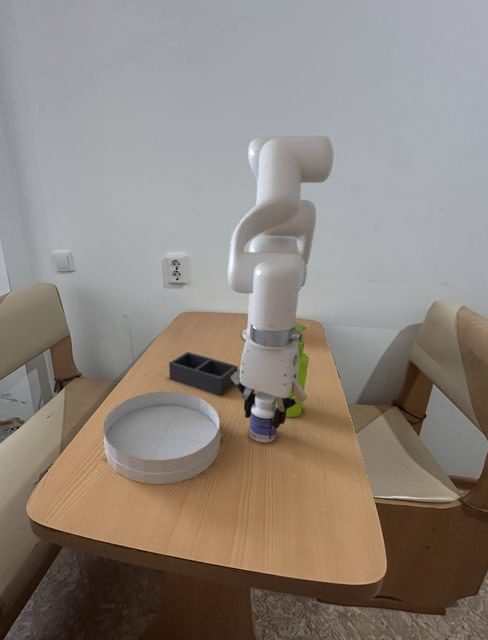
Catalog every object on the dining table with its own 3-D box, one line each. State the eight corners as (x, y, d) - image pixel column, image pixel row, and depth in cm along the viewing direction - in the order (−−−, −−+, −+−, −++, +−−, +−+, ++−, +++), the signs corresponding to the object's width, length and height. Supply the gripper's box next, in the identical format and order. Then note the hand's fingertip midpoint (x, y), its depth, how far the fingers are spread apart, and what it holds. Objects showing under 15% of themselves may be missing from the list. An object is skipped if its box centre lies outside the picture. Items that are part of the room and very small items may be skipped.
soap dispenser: (279, 397, 87) (288, 316, 79) (306, 409, 83) (318, 325, 74) (264, 407, 83) (272, 323, 75) (291, 420, 79) (303, 332, 70)
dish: (227, 417, 80) (227, 397, 78) (209, 493, 60) (210, 470, 58) (129, 405, 84) (127, 386, 82) (83, 473, 64) (79, 451, 62)
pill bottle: (275, 444, 71) (280, 405, 68) (248, 441, 72) (251, 402, 69) (275, 428, 76) (279, 391, 73) (250, 425, 77) (252, 388, 74)
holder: (187, 367, 102) (187, 351, 100) (236, 382, 94) (237, 366, 92) (169, 378, 96) (169, 362, 94) (220, 396, 88) (221, 379, 86)
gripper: (327, 337, 64) (313, 424, 71) (238, 318, 73) (234, 398, 80) (312, 352, 58) (299, 445, 66) (218, 330, 67) (216, 414, 74)
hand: (263, 418), depth 73 cm, fingers closed on pill bottle, 5 cm apart
